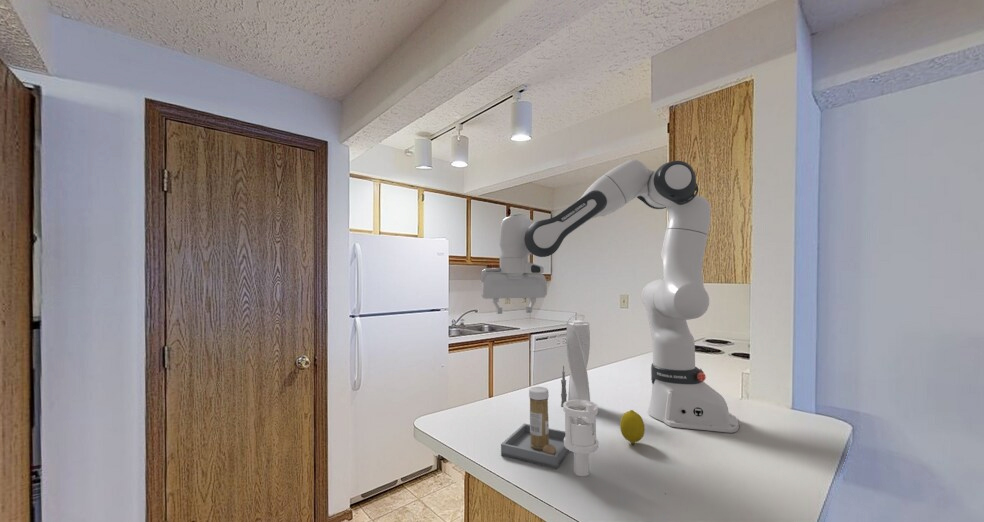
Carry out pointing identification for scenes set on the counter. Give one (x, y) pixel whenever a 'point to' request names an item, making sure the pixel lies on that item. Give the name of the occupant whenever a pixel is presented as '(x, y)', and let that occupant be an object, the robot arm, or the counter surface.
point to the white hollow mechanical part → (581, 433)
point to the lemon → (632, 426)
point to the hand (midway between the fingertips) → (514, 313)
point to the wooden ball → (549, 449)
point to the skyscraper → (577, 362)
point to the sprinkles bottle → (539, 417)
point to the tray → (521, 448)
